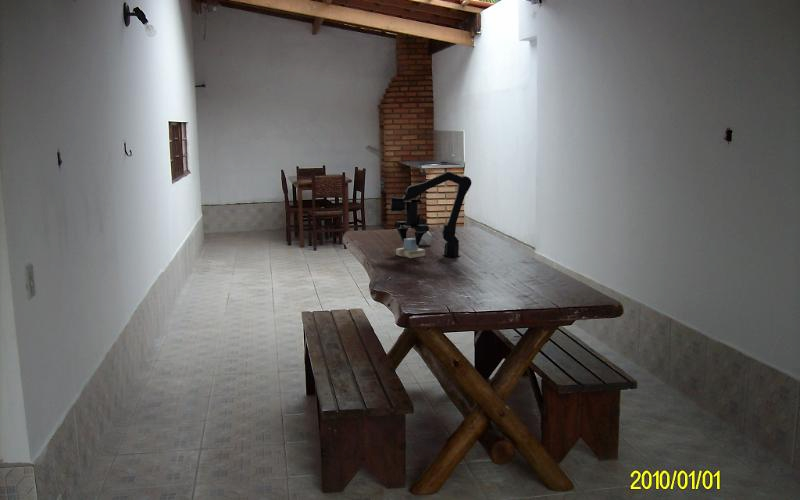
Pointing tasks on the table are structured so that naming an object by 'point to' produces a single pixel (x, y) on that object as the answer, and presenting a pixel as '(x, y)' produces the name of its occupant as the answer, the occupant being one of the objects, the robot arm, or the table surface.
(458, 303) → the table surface
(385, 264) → the table surface
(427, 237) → the die
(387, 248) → the table surface
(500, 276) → the table surface
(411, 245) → the slate block
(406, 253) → the maple base
